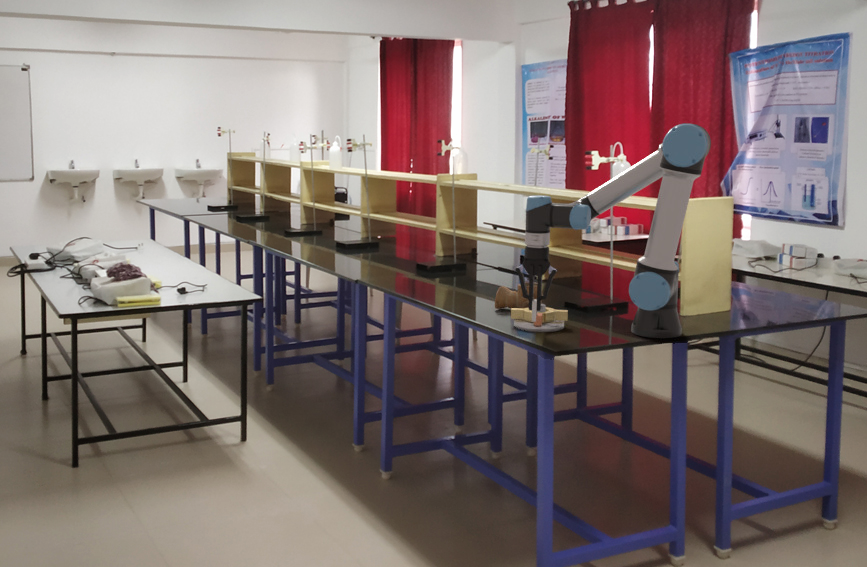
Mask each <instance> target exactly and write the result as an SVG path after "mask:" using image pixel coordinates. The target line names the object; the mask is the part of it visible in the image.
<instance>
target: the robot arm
mask: <svg viewBox="0 0 867 567" xmlns="http://www.w3.org/2000/svg"><path fill="white" fill-rule="evenodd" d="M711 147H712V140H711V137H710V134H709V132H708V131H707V129H705V128H704V127H703V126H701V125H699V124H696V123H681V124H677V125H675V126H673V127H672V128H670V129H669V131H668V132H667V133H666V134H665V136H664V138H663V140H662V143H660V144H659V145H658V149H657V150H656V151H654V152H653V153H651V154H649V155H648V156H646V157H645V158H643V159H641V160H639V161H638V162H637V163H635V164H633V165H632V166H630V167H628V168H627V169H625V170H624V171H622V172H621V173H619V174H617V175H615V176H614V177H613V178H610V179H609V180H608V181H607V182H605V183H603V184H601V185H600V186H598V187H596V188H595V189H593V190H591V191H590V192H588V193H587V194H585V195H583V196H582V197H580V198H578V199H577V200H576V201H574V202H571V203H559V202H558V203H557V202H553V201H552V197H551V196H549V195H543V194H542V195H541V194H539V195H536V194H535V195H529V196H528V197H527V198H526V206H525V207H526V208H525V230H524V231H525V232H524V234H525V235H524V238H525V239H524V244H525V245H526V246H525V247H524V255H523V256H524V259H523V262H522V264H521V265H520V266H517V267H516V268H515V272H516V273H517V276H518V279H519V280H518V281H519V284H520V285H521V289H522V294H523V297H524V298H526V299H528V300H529V310H532V322H536V315H537V311H540V309H541V303H542V302H541V300H542V301H544V300H546V299H547V297H548V295H549V292H550V289H551V285H552V281H553V278H554V277H555V275H556V273H557V272H558V269H557V268H555V267H553V266H551V262H550V247H549V246H550V242H551V241H550V240H551V233H550V232H551V228H553V229H555V228H556V229H570V230H575V231H578V230H587V229H589V227H590V225H591V221H592V220H593V219H596V217H598V216H600V215H602V214H603V213H605V212H607V211H608V210H609V209H611V208H614V207H615V206H616V205H618V204H620V203H621V202H623V201H624V200H626V199H628V198H630V197H632V196H633V195H634V194H636V193H637V192H639V191H641V190H643V189H644V188H647V187H648V186H650V185H652V184H653V183H655V182H656V181H658V180H660V179H661V178H662V179H661V183H660V188H659V190H658V191H659V192H658V195H657V196H658V197H657V200H656V205H655V208H654V213H653V217H652V221H651V226H650V229H649V234H648V238H647V242H646V247H645V251H644V255H642V256H640V257H639V258H638V259H637V261H636V265H635V269H634V273H633V277H632V279H631V280H630V282H629V286H628V294H629V297H630V300H631V301H632V302H633V304H634V305H635V306H636V307H637V310H636V313H635V315H634V318H633V320H632V323H631V328H630V329H631V330H630V331H631V333H632V334H634V335H636V336H640V337H645V338H652V339H672V338H678V337H680V336H682V330H683V328H682V327H683V326H682V324H681V321H680V320H681V319H680V317H679V313H678V307H677V306H678V294H679V292H678V291H679V273H680V265H679V263H678V261H675V259H676V254H677V250H678V246H679V242H680V238H681V233H682V229H683V227H684V226H683V225H684V222H685V217H686V215H687V210H688V207H689V206H688V205H689V201H690V196H691V194H692V190H693V187H694V186H693V185H694V181H695V180H696V179H698V178H699V177H701V175H702V172H703V168H704V164H705V160H706V157H707V156H708V155H709V153H710V150H711ZM524 271H526V273H527V274H528V283H529V294H528V293H527V288H526V284H525V282H526V280H525V276H524ZM547 271H548V274H549V275H548V278H547V282H546V284H545V289H544V290H543V276H544V274H546V272H547ZM535 277H537V278H536V279H537V281H536V283H537V299H533V298H534V283H535ZM543 291H544V292H543Z"/></svg>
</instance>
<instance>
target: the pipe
mask: <svg viewBox="0 0 867 567" xmlns="http://www.w3.org/2000/svg"><path fill="white" fill-rule="evenodd" d="M525 284H526V288H527V293H528V294H529V282H528V281H525ZM533 299H537V282H534V298H533ZM542 301H543V300H541V304H543V302H542ZM528 307H529V300H528V299H526V298H524V297H523V294H522V289H521V285H520V283H518V284H517V291H516V290H511V289H509V288H508V287H506V286H504V285H502V286H499V287H498V289H497V291H496V294H495V299H494V309H496V310H500V309H501V310H502V309H505V308H508V309H511V308H521V309H524V308H528Z"/></svg>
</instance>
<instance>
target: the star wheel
mask: <svg viewBox="0 0 867 567" xmlns="http://www.w3.org/2000/svg"><path fill="white" fill-rule="evenodd" d="M568 312H569V310H567V309H555V308H552V307H549V306H546V311H545V312H537V315H536V322H534V325H542V323H544V322H545V323H546V322H551V321H554V320H556V321H564V322H565V321H566V322H568V318H569V317H568V316H569V314H568ZM510 319H511V320H514V319H524V320H526V321H530V322H532V310H529V307H528V308H524V309H521V308H510Z"/></svg>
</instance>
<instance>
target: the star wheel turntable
mask: <svg viewBox="0 0 867 567" xmlns="http://www.w3.org/2000/svg"><path fill="white" fill-rule="evenodd" d="M546 307H547V306H546V304H545V303H542V304H541V309H540V311H537V312H545V311H546ZM513 320H514V321H513V327H514V326H515V327H516V328H515V327H514V328H515V329H517V328H518V329H517V330H520V329H521V330H520V331H524V330H525V331H526V332H534V333H549V332H550V333H551V332H557V331H561V330H563V329H564V328H565V321H556V320H554V321H551V322H546V323H545V322H544V323H542V325H534V322H530V321H526V320H524V319H513Z"/></svg>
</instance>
